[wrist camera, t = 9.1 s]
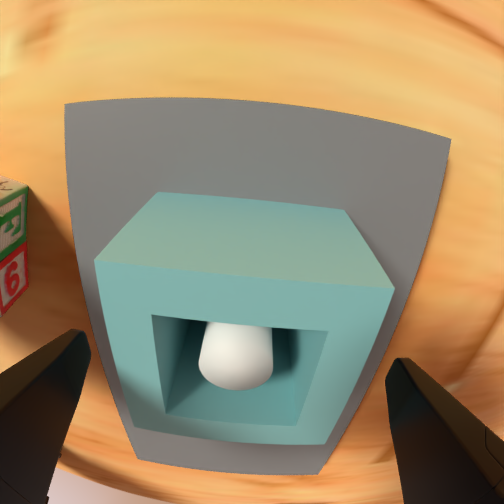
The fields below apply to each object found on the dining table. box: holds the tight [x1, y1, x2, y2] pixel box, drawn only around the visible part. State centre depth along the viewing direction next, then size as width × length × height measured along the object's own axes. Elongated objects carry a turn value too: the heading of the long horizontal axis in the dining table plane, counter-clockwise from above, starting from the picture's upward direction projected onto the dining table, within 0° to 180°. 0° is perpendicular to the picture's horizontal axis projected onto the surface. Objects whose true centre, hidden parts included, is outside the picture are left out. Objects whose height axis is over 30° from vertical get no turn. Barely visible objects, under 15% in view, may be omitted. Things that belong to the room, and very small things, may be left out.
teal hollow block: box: [94, 192, 395, 445], centre depth 10 cm, size 6×6×5 cm
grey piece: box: [65, 98, 451, 475], centre depth 14 cm, size 24×14×6 cm, turn 175°
